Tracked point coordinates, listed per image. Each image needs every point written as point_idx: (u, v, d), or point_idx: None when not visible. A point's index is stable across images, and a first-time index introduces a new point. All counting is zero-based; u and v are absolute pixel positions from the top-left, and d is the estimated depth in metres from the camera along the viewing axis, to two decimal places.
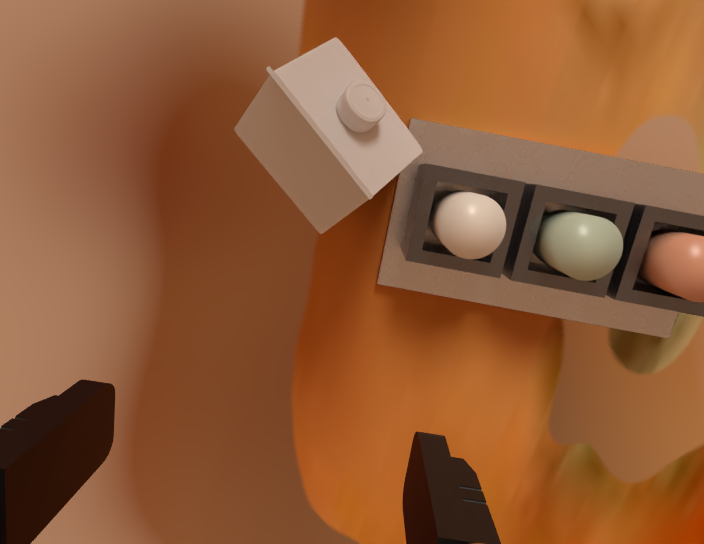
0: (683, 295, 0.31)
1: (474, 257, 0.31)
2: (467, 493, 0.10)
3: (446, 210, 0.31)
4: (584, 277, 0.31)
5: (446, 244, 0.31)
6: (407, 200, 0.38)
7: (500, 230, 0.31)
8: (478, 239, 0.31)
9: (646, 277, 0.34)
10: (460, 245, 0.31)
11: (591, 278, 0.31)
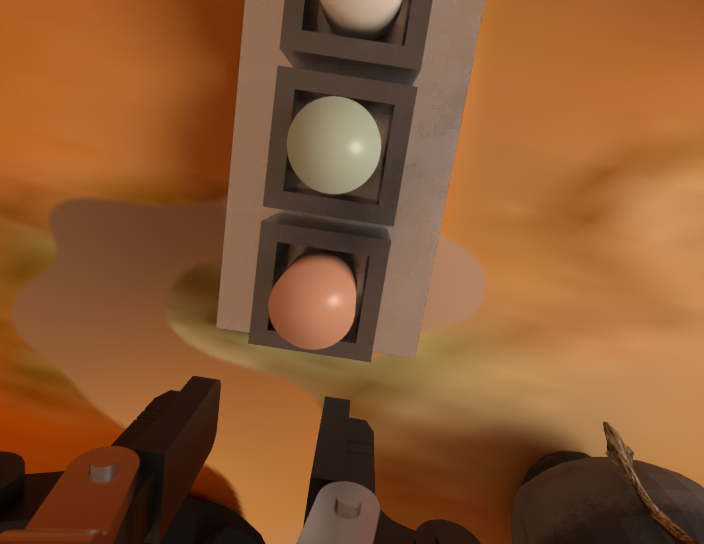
0: (276, 286, 0.23)
1: None
2: (358, 447, 0.11)
3: None
4: (291, 145, 0.21)
5: None
6: None
7: (356, 1, 0.20)
8: None
9: (294, 261, 0.26)
10: None
11: (290, 155, 0.21)
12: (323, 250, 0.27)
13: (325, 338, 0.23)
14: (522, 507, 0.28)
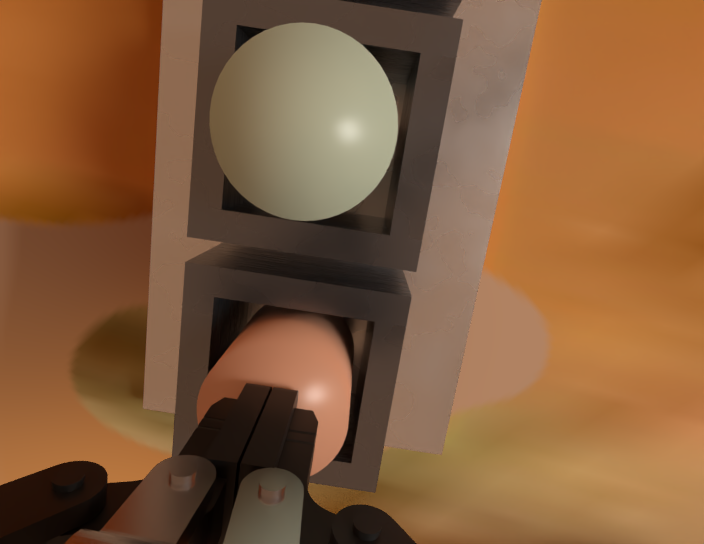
0: (208, 379, 0.13)
1: None
2: (300, 436, 0.11)
3: None
4: (219, 124, 0.11)
5: None
6: None
7: None
8: None
9: (252, 320, 0.16)
10: None
11: (218, 145, 0.11)
12: None
13: None
14: None
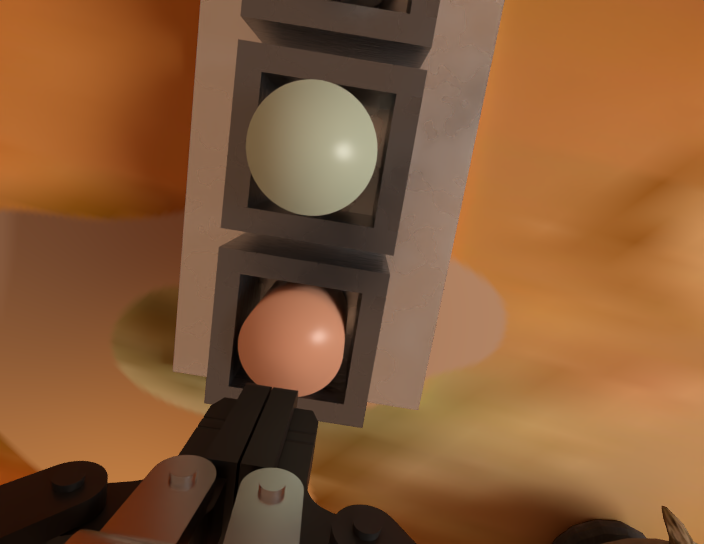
0: (247, 322, 0.19)
1: None
2: (300, 436, 0.11)
3: None
4: (252, 147, 0.15)
5: None
6: None
7: None
8: None
9: (273, 287, 0.22)
10: None
11: (251, 162, 0.15)
12: None
13: (307, 383, 0.19)
14: None
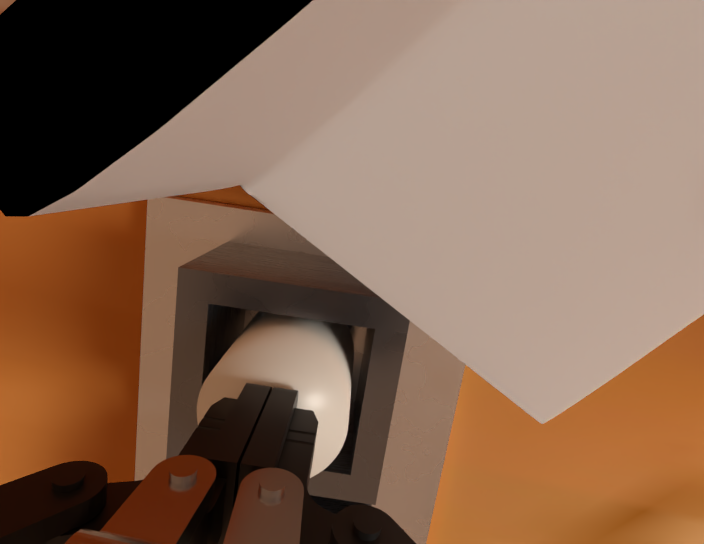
0: None
1: None
2: (300, 436, 0.11)
3: (307, 358, 0.13)
4: None
5: (226, 363, 0.13)
6: None
7: None
8: None
9: None
10: (226, 395, 0.13)
11: None
12: None
13: None
14: None
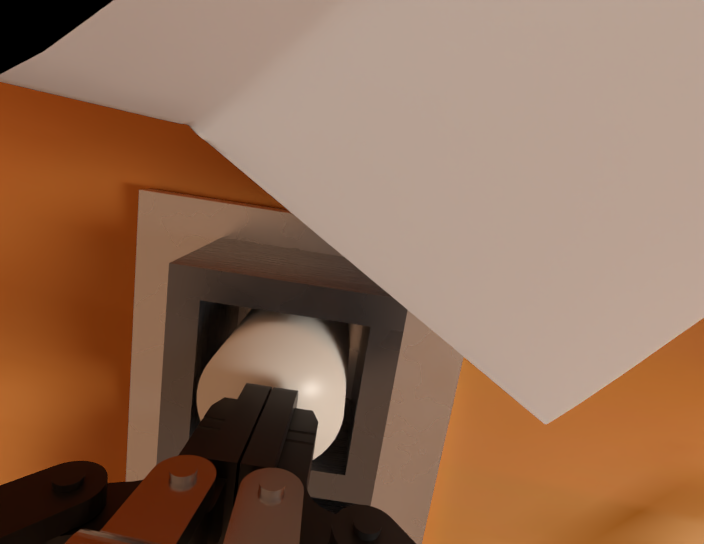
0: None
1: (201, 412, 0.14)
2: (300, 436, 0.11)
3: (304, 346, 0.13)
4: None
5: (225, 351, 0.13)
6: (322, 246, 0.18)
7: None
8: None
9: None
10: (225, 381, 0.13)
11: None
12: None
13: None
14: None
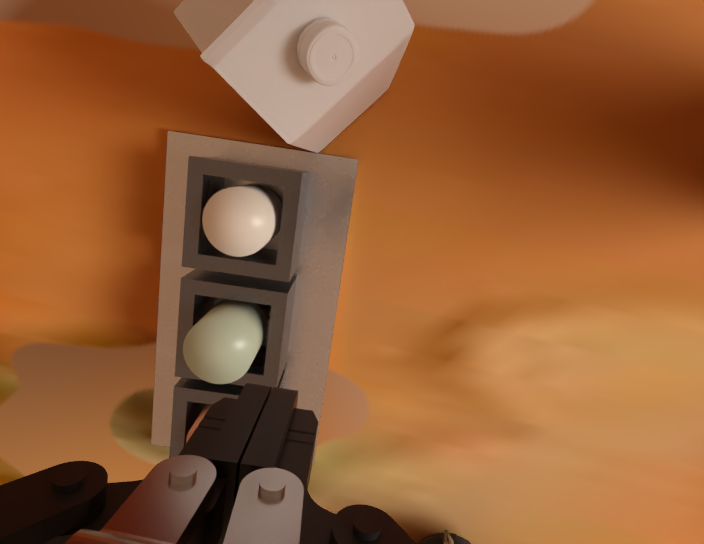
0: (191, 430, 0.32)
1: (204, 227, 0.29)
2: (300, 436, 0.11)
3: (252, 192, 0.28)
4: (186, 351, 0.29)
5: (215, 195, 0.28)
6: (268, 161, 0.34)
7: (236, 251, 0.29)
8: (224, 229, 0.29)
9: None
10: (215, 211, 0.29)
11: (186, 358, 0.29)
12: None
13: None
14: None
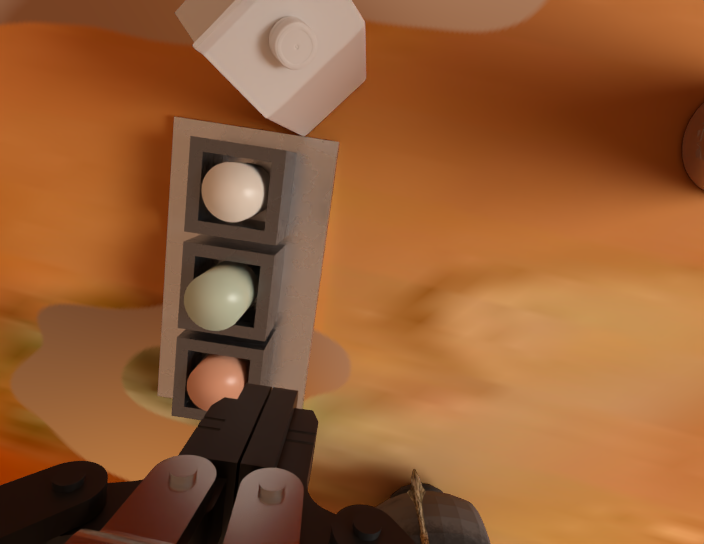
0: (191, 375, 0.37)
1: (203, 196, 0.34)
2: (300, 436, 0.11)
3: (243, 166, 0.33)
4: (187, 301, 0.34)
5: (212, 169, 0.33)
6: (260, 143, 0.39)
7: (230, 217, 0.34)
8: (220, 198, 0.34)
9: None
10: (212, 182, 0.34)
11: (186, 307, 0.34)
12: None
13: None
14: None
